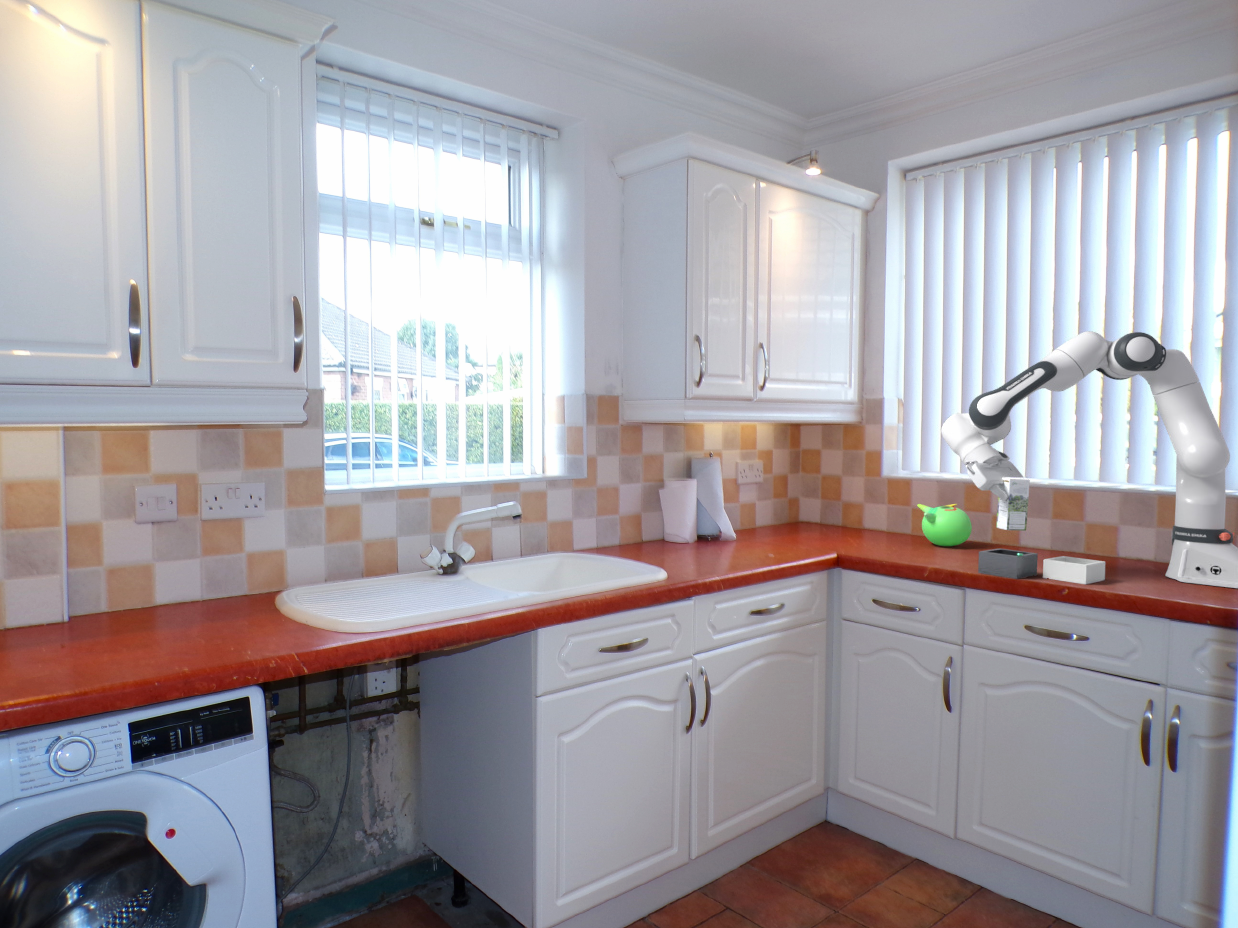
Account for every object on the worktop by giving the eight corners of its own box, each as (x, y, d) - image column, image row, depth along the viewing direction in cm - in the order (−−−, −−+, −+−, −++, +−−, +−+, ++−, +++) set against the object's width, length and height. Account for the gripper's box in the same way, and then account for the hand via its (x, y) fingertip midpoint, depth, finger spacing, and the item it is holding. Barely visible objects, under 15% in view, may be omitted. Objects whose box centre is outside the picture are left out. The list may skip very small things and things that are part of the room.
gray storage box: (1037, 574, 224) (1038, 551, 223) (1017, 578, 217) (1017, 554, 217) (998, 569, 232) (999, 546, 232) (978, 572, 226) (978, 549, 226)
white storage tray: (1104, 580, 217) (1105, 561, 217) (1085, 584, 211) (1086, 565, 210) (1062, 573, 226) (1063, 556, 226) (1042, 577, 219) (1043, 559, 219)
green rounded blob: (977, 550, 268) (978, 506, 268) (924, 548, 271) (925, 505, 270) (963, 543, 286) (964, 501, 285) (913, 541, 289) (914, 500, 288)
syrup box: (1015, 528, 227) (1018, 476, 226) (1027, 531, 221) (1030, 478, 221) (995, 527, 227) (998, 476, 226) (1006, 530, 221) (1009, 477, 220)
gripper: (970, 454, 222) (1003, 492, 215) (1009, 454, 235) (1041, 490, 227) (954, 469, 226) (986, 507, 219) (994, 468, 238) (1025, 504, 231)
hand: (1015, 498), depth 223 cm, fingers closed on syrup box, 7 cm apart
